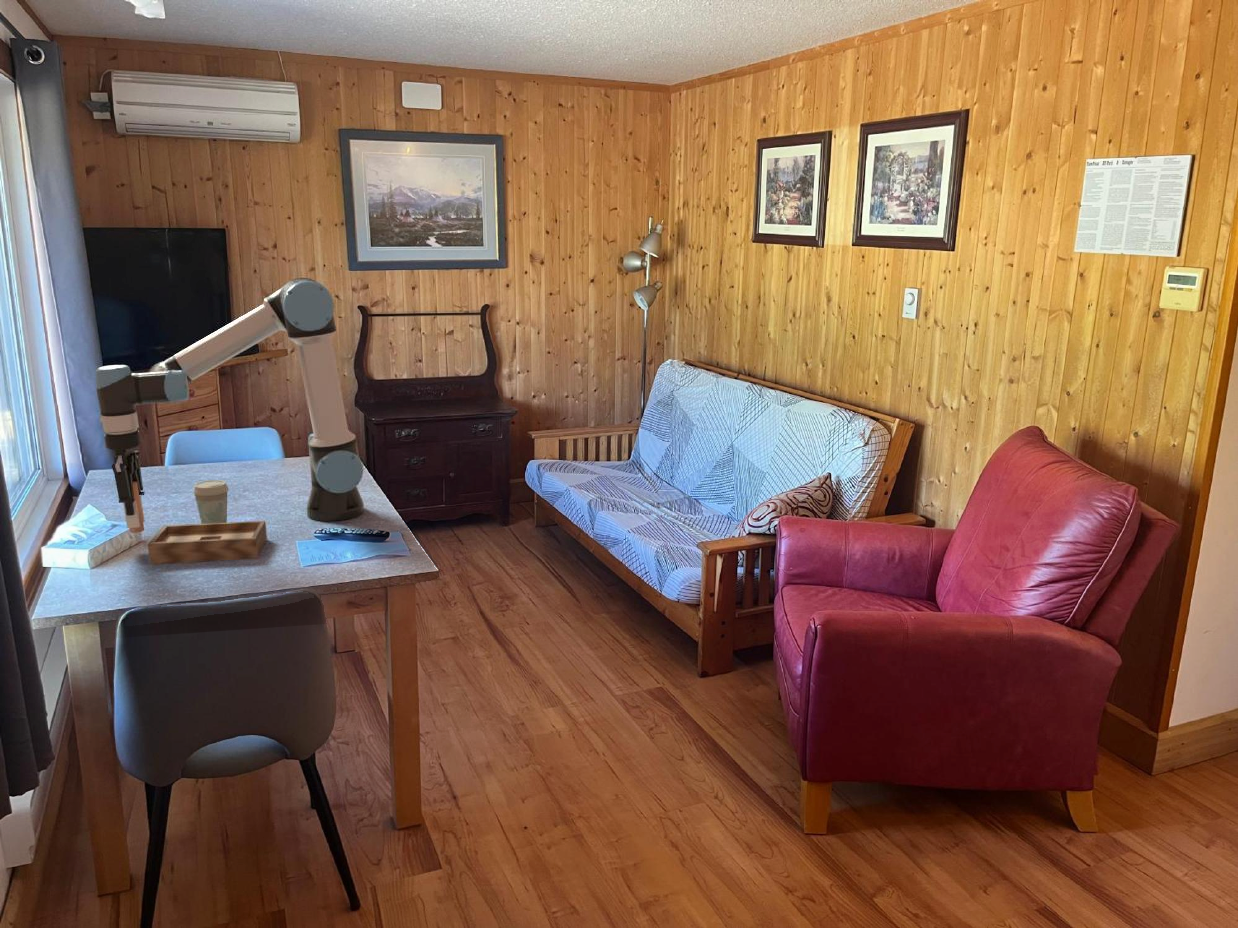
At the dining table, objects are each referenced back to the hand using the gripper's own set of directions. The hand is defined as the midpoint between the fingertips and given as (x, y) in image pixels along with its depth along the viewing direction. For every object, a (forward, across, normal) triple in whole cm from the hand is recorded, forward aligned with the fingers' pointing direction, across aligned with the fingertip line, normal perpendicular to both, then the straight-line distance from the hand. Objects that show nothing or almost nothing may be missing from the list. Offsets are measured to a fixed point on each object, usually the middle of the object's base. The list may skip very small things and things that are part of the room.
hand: (136, 524), depth 232 cm
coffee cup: (+7, -15, +14) cm, 22 cm away
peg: (+2, 0, 0) cm, 2 cm away
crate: (+7, +4, +17) cm, 19 cm away
